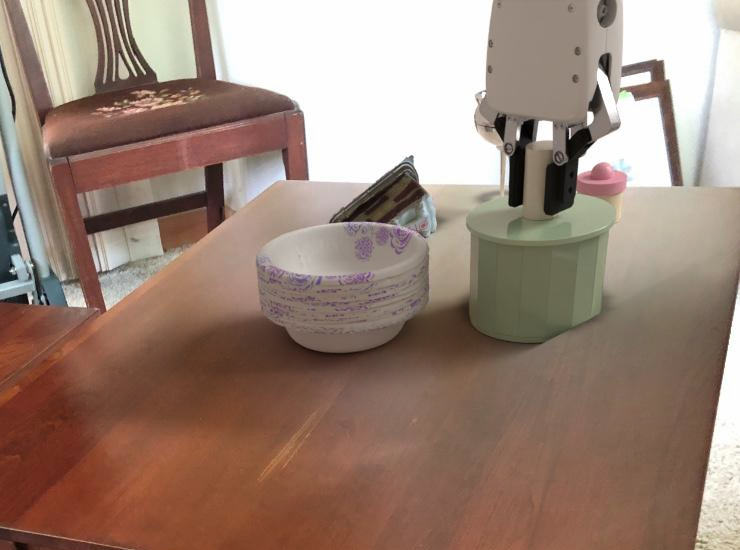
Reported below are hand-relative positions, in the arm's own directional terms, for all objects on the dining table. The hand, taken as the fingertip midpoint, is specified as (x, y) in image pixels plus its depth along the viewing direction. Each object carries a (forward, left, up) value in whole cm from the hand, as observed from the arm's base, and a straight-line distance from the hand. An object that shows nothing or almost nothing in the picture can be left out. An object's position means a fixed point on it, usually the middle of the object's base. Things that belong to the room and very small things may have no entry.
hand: (540, 204), depth 81 cm
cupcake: (+11, -24, -10) cm, 28 cm away
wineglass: (+22, -21, -10) cm, 32 cm away
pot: (0, 0, -10) cm, 10 cm away
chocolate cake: (+26, -7, -10) cm, 29 cm away
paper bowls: (+11, +13, -10) cm, 20 cm away
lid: (0, 0, -1) cm, 1 cm away
